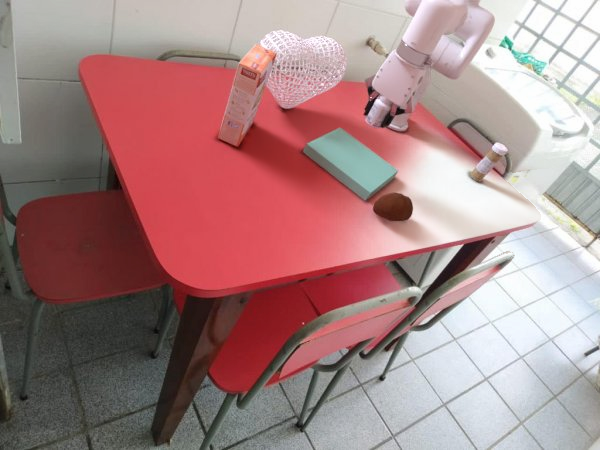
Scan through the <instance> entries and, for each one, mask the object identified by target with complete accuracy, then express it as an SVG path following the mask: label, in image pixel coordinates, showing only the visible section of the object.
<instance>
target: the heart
mask: <svg viewBox="0 0 600 450" xmlns="http://www.w3.org/2000/svg"><path fill="white" fill-rule="evenodd" d="M285 40H286V41H285ZM258 45H260V46H262V47H264V48H267V49H269V50H271V51H273V52H275V53H276V54H277V55H276V58H275V61H276V62H274V64H273V67H272V69H271V72H270V75H269V78H268V81H267V84H266V87H265V88H267V89H268V91H269V92H270V94H271V95H272V96H273V98H274V100H275V101H276V103H277V104H278V106H280V107H281V108H283V109H286V110H287V109H288V110H290V109H293V108H295V107H298V106H300V105H301V104H303V103H305V102H307V101H309V100H311V99H313V98H315V97H316V96H319V95H321V94H323V93H325V92H327V91H329V90H331V89H333V88H334V87H336V86H337V85H338V84H339V83H340V82H341V81H342V79H343V78H344V76H345V73H346V71H347V68H348V67H347V65H348V63H347V62H348V61H347V60H348V59H347V55H346V52H345V50H344V49H343V47H342V45H341V44H340V43H339V42H338V41H336V40H335V39H333V38H331V37H329V36H325V35H318V36H312V37H309V38H305V39H303V38H302V37H300V36H298V35H296V34H294V33H292V32H290V31H287V30H282V29H281V30H280V29H279V30H273V31H270V32H268V33H267V34H266V35H264V37H262V39H261V40H260V42H259V43H258ZM324 45H325V46H324ZM280 48H281V49H280ZM320 50H321V51H320ZM284 51H285V52H284ZM287 52H288V53H287ZM313 54H314V55H313ZM281 55H282V56H281ZM317 55H318V56H317ZM322 55H323V56H322ZM301 56H302V57H301ZM290 57H291V58H290ZM327 58H328V61H326V59H327ZM331 59H332V61H331ZM285 61H286V62H285ZM301 61H302V63H301ZM284 62H285V63H284ZM297 62H298V64H297ZM305 62H306V63H305ZM278 66H280V67H279V68H278ZM317 66H318V67H317ZM297 67H298V68H297ZM292 68H293V69H292ZM301 68H302V69H301ZM277 72H278V75H277ZM288 73H289V74H288ZM287 78H288V79H287ZM292 79H293V80H292Z"/></svg>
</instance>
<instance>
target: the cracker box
mask: <svg viewBox="0 0 600 450" xmlns="http://www.w3.org/2000/svg"><path fill="white" fill-rule="evenodd" d="M276 55H277V54H276V51H274V52H273V51H272V50H271V49H270V50H269V49H267V48H264V47H262V46H260V45H259V43H256V44H255V45H253V47H252V48H251V49H249V51H248V52H247V53H246V55H244V56H243V58H242V59H241V60H240V61H238V64H237V68H236V71H235V75H234V78H233V81H232V86H231V90H230V92H229V96H228V100H227V104H226V107H225V111H224V115H223V117H222V122H221V125H220V129H219V132H218V136H217V140H220V141H223V142H224V143H228V144H230V145H231V146H233V147H236V148H238V147H239V146H240V144H241V143H242V141H243V139H244V138H245V137H246V135H247V133H248V132H249V130H250V129H251V127H252V125H253V124H254V121H255V118H256V115H257V112H258V110H259V107H260V104H261V101H262V98H263V96H264V93H265V89H266V88H267V87H266V84H267V81H268V79H269V75H270V72H271V69H273V68H272V67H273V65H275V64H274V63H275V61H276V59H275V58H276ZM277 56H278V55H277Z"/></svg>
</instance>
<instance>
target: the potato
mask: <svg viewBox="0 0 600 450" xmlns="http://www.w3.org/2000/svg"><path fill="white" fill-rule="evenodd" d="M372 211H373V213H374V214H375V215H376V216H377V217H379V218H381V219H383V220H387V221H390V222H406V221H409V219H411V217H412V215H413V211H414V205H413V201H412V199H411V198H410V197H409V196H407V195H404V194H403V193H401V192H395V191H394V192H389V193H386V194H383V195H381V196H379V197H378V198H377V199H376V200H375V201H374V203H373V206H372Z"/></svg>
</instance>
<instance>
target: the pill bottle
mask: <svg viewBox="0 0 600 450" xmlns="http://www.w3.org/2000/svg"><path fill="white" fill-rule="evenodd" d="M392 105H393V102H391V101H390V100H389V99H387V98H386V97H385V96H383V95H381V94H380V95H379V96H378V97H377V99H376V100H375V102H374V104H373V106H372V108H371V109H370V111H369V113H368V115H367V116H365V122H366V123H367V124H368V126H369V127H372V128H374V129H382V128H381V124H382V123H383V121H384V119H385V117H386V116H387V114H389V113H390V112H391V109H392Z"/></svg>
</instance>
